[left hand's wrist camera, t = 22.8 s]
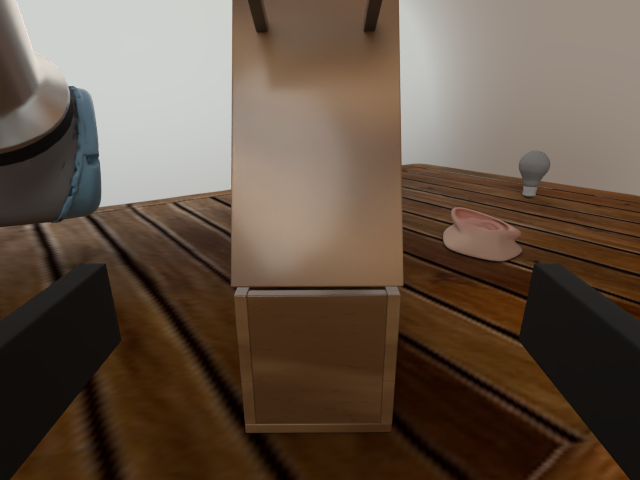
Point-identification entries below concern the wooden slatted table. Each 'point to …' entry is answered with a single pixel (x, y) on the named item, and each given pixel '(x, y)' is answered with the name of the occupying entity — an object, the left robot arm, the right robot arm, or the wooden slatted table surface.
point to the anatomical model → (481, 236)
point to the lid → (316, 144)
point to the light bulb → (533, 170)
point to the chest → (317, 358)
